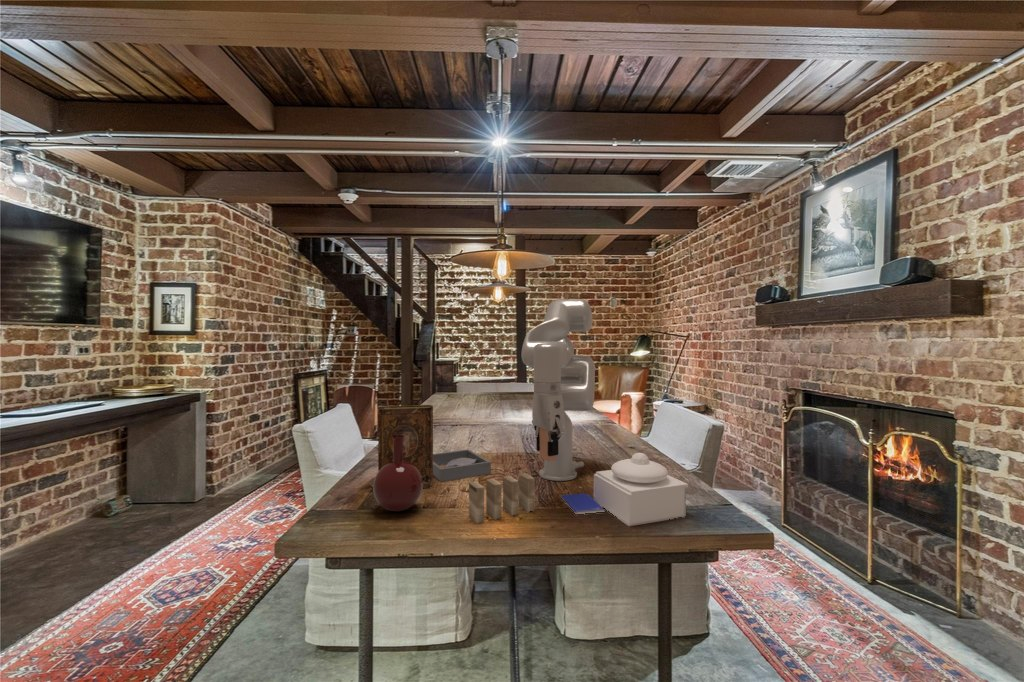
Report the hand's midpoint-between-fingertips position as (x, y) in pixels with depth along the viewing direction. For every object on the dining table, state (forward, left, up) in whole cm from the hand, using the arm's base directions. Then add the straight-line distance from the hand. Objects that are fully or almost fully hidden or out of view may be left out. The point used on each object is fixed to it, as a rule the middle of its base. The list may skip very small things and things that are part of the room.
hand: (547, 452), depth 129 cm
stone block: (+10, -41, -15) cm, 45 cm away
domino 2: (+16, 0, -15) cm, 22 cm away
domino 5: (0, 0, -2) cm, 2 cm away
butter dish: (-20, +14, -15) cm, 29 cm away
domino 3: (+11, 0, -15) cm, 19 cm away
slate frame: (+10, -42, -15) cm, 46 cm away
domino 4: (+6, 0, -15) cm, 16 cm away
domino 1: (+21, 0, -15) cm, 26 cm away
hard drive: (-8, +5, -16) cm, 18 cm away
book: (+30, -33, -15) cm, 48 cm away
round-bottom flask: (+37, -16, -15) cm, 44 cm away
